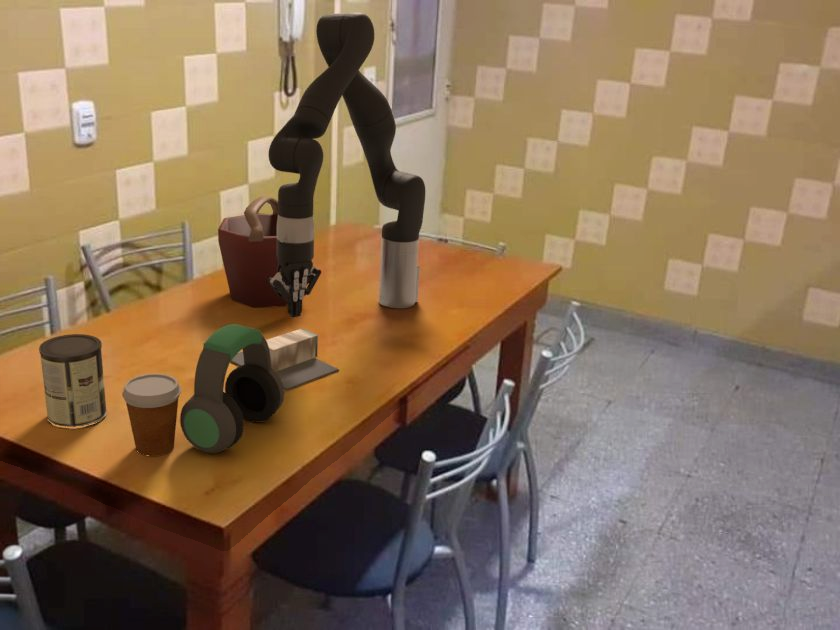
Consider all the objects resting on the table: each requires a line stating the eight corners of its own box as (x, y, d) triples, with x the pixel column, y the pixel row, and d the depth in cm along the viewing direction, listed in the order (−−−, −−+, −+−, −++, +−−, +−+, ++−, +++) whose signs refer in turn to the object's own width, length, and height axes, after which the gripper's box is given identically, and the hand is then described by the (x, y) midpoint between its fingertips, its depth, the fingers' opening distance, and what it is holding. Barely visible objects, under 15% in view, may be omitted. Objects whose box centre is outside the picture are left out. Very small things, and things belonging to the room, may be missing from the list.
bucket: (275, 319, 211) (275, 217, 202) (196, 303, 218) (193, 203, 209) (324, 289, 232) (325, 195, 223) (250, 275, 239) (249, 183, 230)
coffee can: (72, 398, 168) (66, 329, 163) (118, 409, 165) (113, 339, 160) (33, 422, 159) (25, 350, 154) (81, 434, 156) (75, 361, 151)
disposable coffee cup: (153, 467, 147) (149, 402, 143) (114, 449, 152) (109, 386, 148) (195, 444, 155) (193, 382, 151) (156, 428, 159) (153, 367, 155)
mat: (276, 342, 199) (276, 340, 198) (338, 370, 186) (338, 368, 186) (225, 358, 189) (225, 357, 189) (286, 390, 177) (286, 388, 176)
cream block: (302, 328, 193) (257, 342, 184) (317, 335, 190) (273, 350, 181) (301, 349, 194) (258, 364, 186) (317, 356, 191) (273, 372, 183)
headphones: (229, 465, 149) (226, 356, 142) (175, 449, 153) (170, 342, 146) (289, 418, 166) (289, 318, 159) (239, 405, 170) (237, 307, 162)
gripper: (307, 226, 187) (306, 304, 193) (257, 237, 178) (258, 318, 184) (332, 235, 183) (330, 313, 189) (282, 246, 173) (281, 329, 179)
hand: (294, 316), depth 186 cm, fingers closed
